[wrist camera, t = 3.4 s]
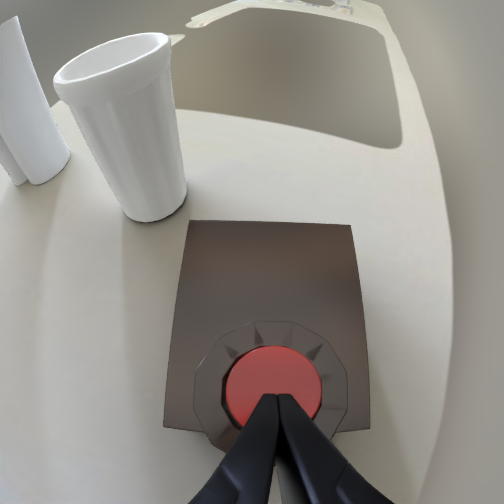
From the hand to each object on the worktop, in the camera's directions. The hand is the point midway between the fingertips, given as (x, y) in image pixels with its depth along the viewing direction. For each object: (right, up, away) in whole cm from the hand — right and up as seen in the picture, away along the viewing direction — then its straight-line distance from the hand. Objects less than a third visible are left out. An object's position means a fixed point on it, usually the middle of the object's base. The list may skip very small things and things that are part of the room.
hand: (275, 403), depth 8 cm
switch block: (0, -1, +11) cm, 11 cm away
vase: (-28, +16, +22) cm, 39 cm away
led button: (0, -1, +3) cm, 4 cm away
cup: (-10, +9, +18) cm, 22 cm away
